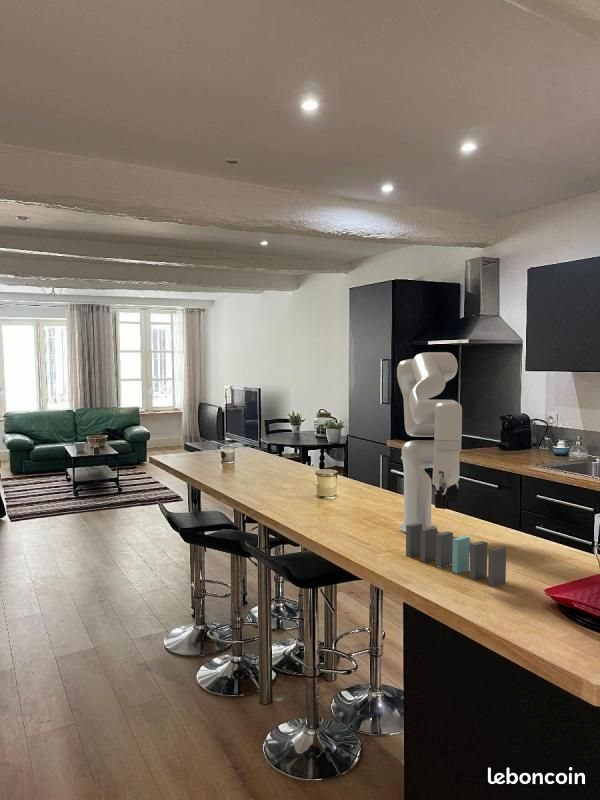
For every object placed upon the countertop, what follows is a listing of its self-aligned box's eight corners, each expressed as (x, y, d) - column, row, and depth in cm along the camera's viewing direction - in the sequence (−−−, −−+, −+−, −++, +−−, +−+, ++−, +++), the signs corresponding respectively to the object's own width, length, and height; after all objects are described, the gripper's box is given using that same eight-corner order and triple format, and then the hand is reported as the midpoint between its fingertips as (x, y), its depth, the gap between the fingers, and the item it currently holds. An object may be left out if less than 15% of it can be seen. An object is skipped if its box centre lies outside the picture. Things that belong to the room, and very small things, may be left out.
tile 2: (420, 561, 179) (420, 529, 179) (432, 558, 182) (432, 526, 182) (425, 562, 178) (425, 530, 177) (436, 559, 181) (437, 528, 180)
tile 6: (487, 584, 160) (488, 549, 159) (499, 580, 162) (500, 545, 162) (493, 586, 158) (494, 550, 158) (505, 582, 161) (506, 547, 160)
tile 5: (469, 578, 164) (470, 543, 164) (481, 574, 167) (482, 540, 167) (474, 580, 163) (475, 545, 163) (486, 576, 166) (487, 542, 165)
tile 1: (405, 555, 184) (406, 524, 184) (417, 553, 187) (417, 522, 186) (410, 557, 183) (410, 526, 182) (421, 554, 185) (422, 523, 185)
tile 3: (435, 566, 174) (436, 533, 174) (447, 563, 177) (448, 531, 177) (440, 568, 173) (441, 535, 172) (452, 564, 176) (452, 532, 175)
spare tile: (452, 572, 169) (452, 538, 169) (464, 568, 172) (464, 535, 172) (457, 574, 168) (457, 540, 167) (469, 570, 171) (469, 537, 170)
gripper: (445, 441, 182) (444, 497, 183) (423, 448, 167) (422, 509, 169) (470, 443, 178) (469, 500, 179) (450, 450, 163) (449, 513, 165)
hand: (446, 504), depth 174 cm, fingers open, 9 cm apart
